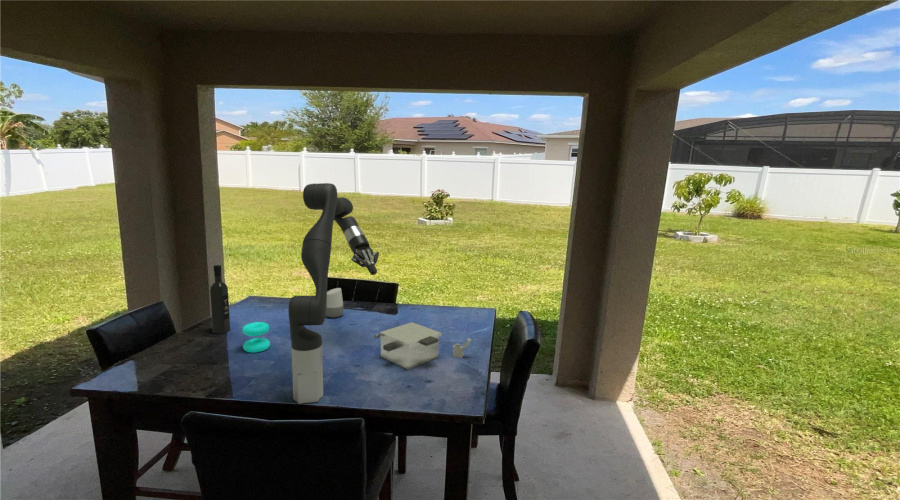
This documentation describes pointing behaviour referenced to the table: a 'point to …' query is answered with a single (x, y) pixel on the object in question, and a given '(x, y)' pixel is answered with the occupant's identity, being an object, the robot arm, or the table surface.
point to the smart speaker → (334, 303)
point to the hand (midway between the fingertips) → (374, 273)
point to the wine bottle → (219, 303)
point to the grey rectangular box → (407, 352)
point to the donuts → (256, 343)
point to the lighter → (459, 349)
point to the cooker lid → (412, 335)
